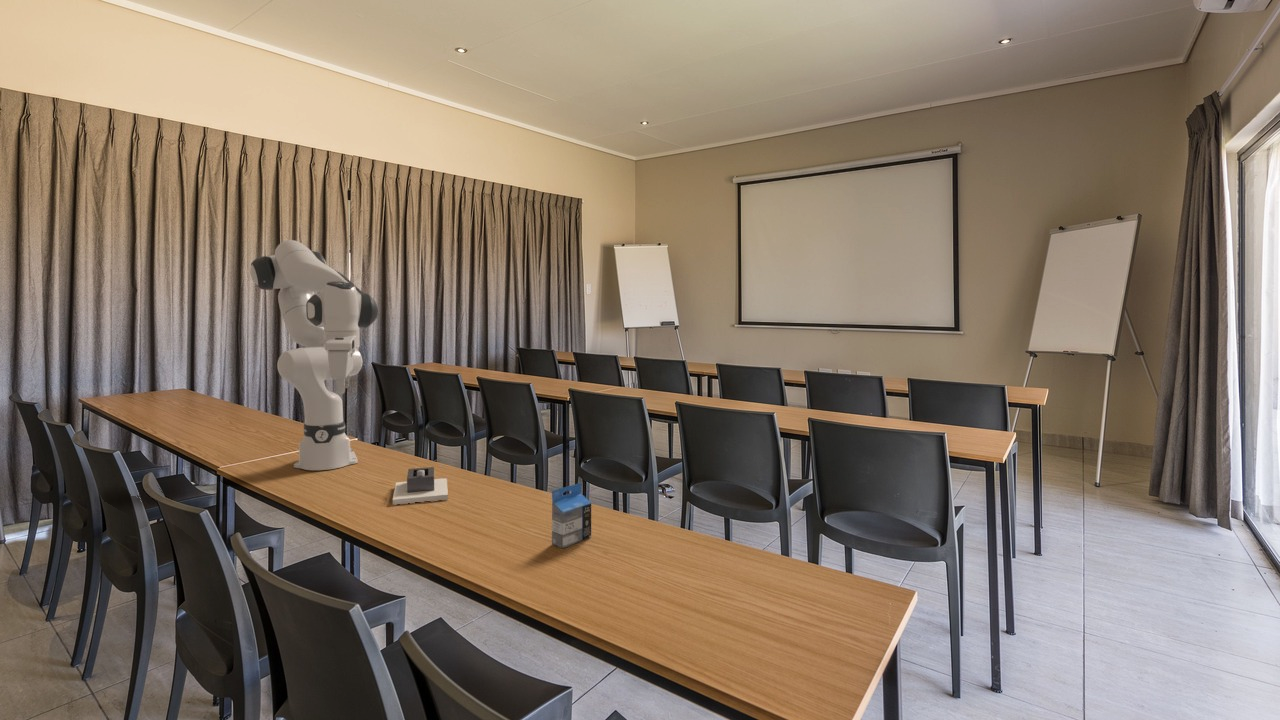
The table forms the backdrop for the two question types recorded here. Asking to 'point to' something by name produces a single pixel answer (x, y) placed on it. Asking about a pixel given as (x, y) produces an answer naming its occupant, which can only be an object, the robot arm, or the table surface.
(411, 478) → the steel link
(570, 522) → the label tape cartridge
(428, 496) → the keeper plate
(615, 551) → the table surface
